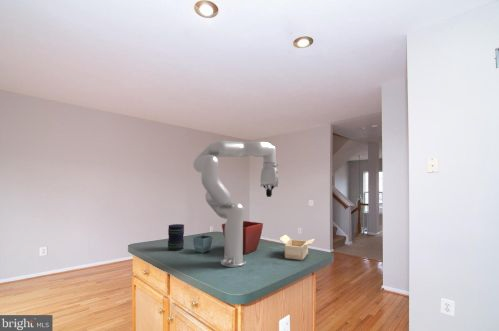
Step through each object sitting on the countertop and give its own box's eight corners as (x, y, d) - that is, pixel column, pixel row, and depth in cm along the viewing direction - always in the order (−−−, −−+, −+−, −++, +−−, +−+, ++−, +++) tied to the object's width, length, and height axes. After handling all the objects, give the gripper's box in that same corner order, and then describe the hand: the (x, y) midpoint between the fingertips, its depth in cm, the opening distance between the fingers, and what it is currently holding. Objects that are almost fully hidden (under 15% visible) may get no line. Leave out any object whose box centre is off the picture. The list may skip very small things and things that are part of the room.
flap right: (303, 245, 134) (303, 246, 134) (310, 243, 132) (310, 244, 132) (307, 240, 146) (307, 241, 146) (314, 238, 145) (314, 239, 145)
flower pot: (212, 251, 151) (212, 236, 152) (202, 254, 143) (203, 238, 144) (202, 249, 156) (202, 234, 156) (192, 252, 148) (192, 237, 149)
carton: (302, 260, 132) (302, 247, 132) (284, 258, 136) (284, 245, 136) (308, 252, 147) (307, 240, 148) (291, 250, 151) (291, 239, 152)
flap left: (279, 238, 139) (278, 239, 140) (285, 243, 138) (284, 244, 138) (285, 234, 152) (285, 234, 152) (290, 239, 150) (290, 239, 150)
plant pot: (245, 257, 138) (245, 227, 139) (220, 251, 149) (220, 223, 150) (263, 250, 153) (263, 223, 154) (240, 245, 164) (240, 220, 166)
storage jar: (186, 247, 159) (187, 224, 160) (178, 251, 149) (179, 226, 151) (172, 246, 161) (173, 223, 162) (164, 250, 152) (165, 226, 153)
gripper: (283, 166, 147) (282, 197, 145) (260, 166, 153) (259, 196, 151) (279, 165, 140) (279, 197, 138) (255, 165, 146) (254, 196, 145)
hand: (268, 196), depth 145 cm, fingers closed
